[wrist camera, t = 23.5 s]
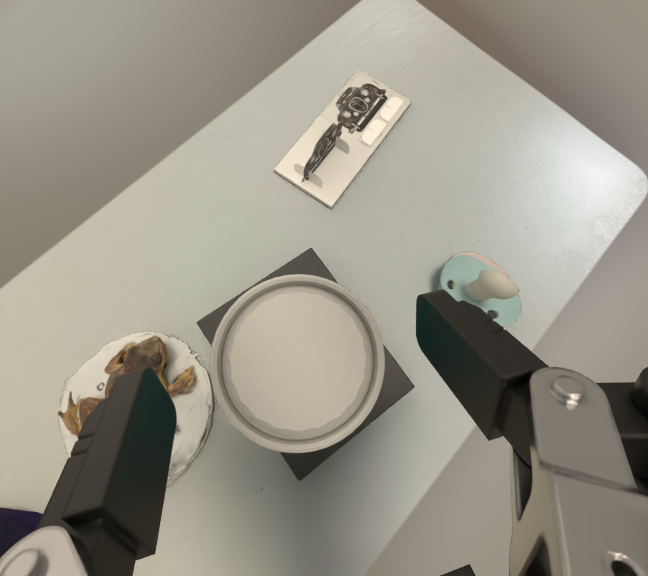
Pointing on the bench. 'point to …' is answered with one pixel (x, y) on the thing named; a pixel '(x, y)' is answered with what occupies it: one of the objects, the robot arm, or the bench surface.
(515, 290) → the pacifier
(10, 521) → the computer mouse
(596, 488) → the robot arm
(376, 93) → the car cutout
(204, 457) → the bench surface
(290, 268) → the scale
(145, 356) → the frog figurine
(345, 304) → the beverage can
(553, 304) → the bench surface
